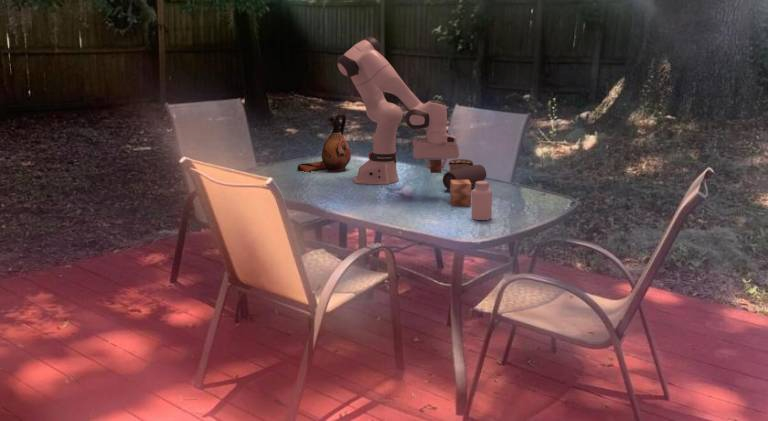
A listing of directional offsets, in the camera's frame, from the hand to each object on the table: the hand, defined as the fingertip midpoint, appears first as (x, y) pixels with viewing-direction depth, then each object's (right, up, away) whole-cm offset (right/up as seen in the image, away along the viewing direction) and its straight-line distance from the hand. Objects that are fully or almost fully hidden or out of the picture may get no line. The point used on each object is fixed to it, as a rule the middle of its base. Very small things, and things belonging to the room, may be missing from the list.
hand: (435, 168), depth 304 cm
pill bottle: (+16, -22, -30) cm, 41 cm away
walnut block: (0, -2, 0) cm, 2 cm away
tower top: (+10, -11, -10) cm, 18 cm away
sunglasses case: (-60, +2, +60) cm, 85 cm away
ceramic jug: (-48, +3, +59) cm, 76 cm away
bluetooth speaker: (+15, -8, +19) cm, 26 cm away
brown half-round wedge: (+15, -4, +35) cm, 38 cm away
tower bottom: (+10, -16, -9) cm, 21 cm away
